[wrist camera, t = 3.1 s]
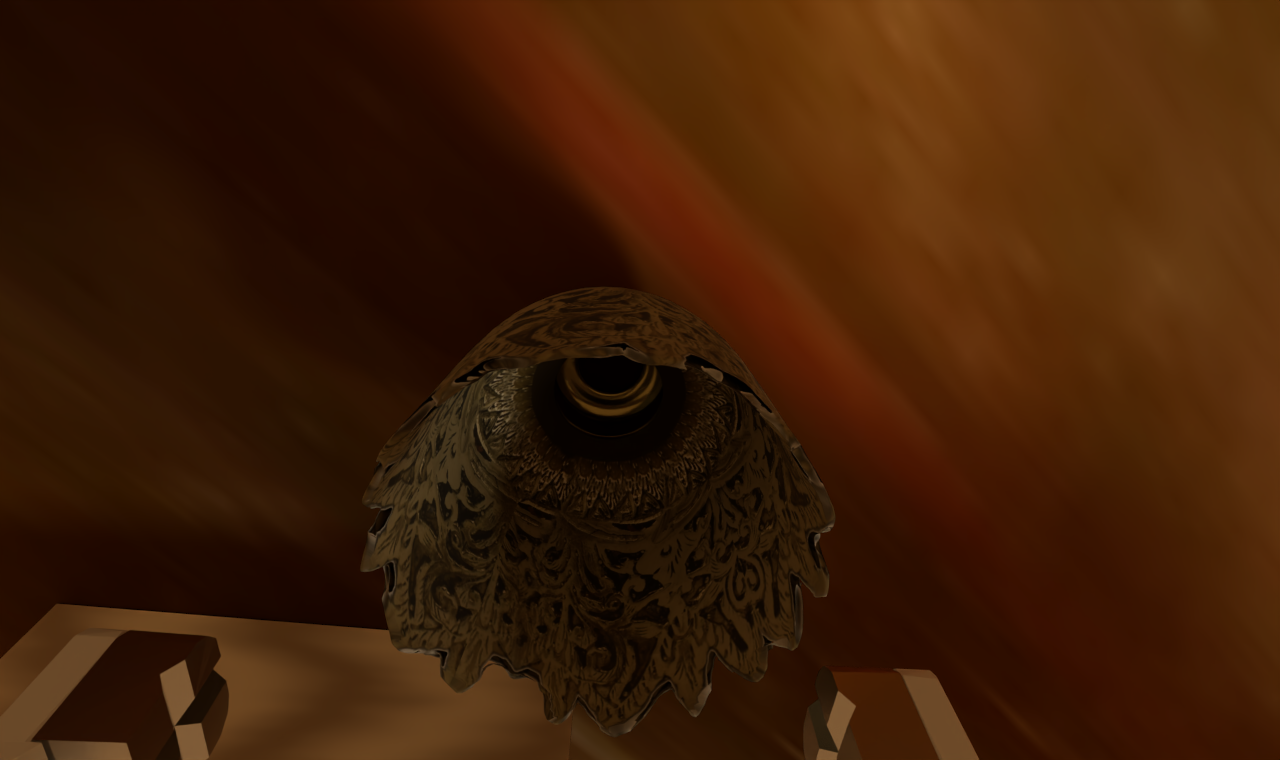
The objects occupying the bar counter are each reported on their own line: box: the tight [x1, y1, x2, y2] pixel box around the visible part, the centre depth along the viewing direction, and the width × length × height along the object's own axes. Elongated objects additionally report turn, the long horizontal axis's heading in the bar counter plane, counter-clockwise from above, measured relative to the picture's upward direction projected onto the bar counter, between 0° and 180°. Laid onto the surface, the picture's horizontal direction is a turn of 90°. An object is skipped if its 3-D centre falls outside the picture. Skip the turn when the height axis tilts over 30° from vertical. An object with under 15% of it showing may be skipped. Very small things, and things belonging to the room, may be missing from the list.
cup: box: [360, 287, 835, 737], centre depth 14 cm, size 8×7×8 cm
